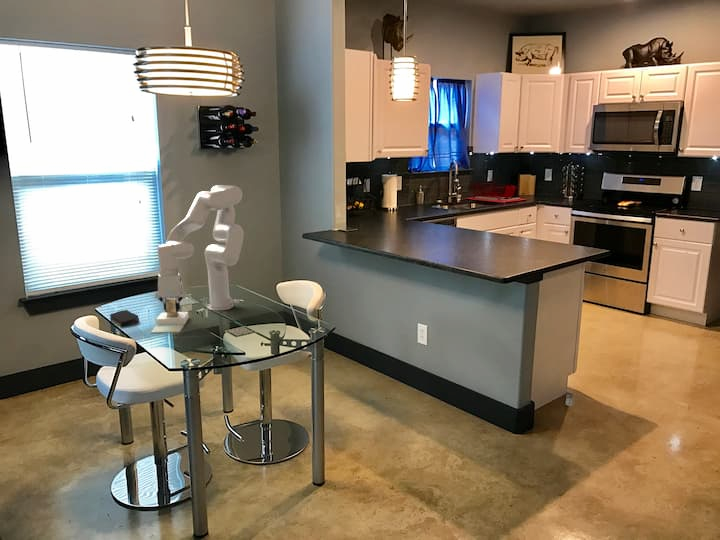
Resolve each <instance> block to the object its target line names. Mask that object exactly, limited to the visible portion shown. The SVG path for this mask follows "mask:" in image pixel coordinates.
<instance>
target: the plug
mask: <svg viewBox="0 0 720 540" xmlns="http://www.w3.org/2000/svg"><path fill="white" fill-rule="evenodd" d="M175 304H176V299H175V297H172V298H167V300H166V310H167V317H177V316H178V312H179V311H178V312H176V305H175Z"/></svg>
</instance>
